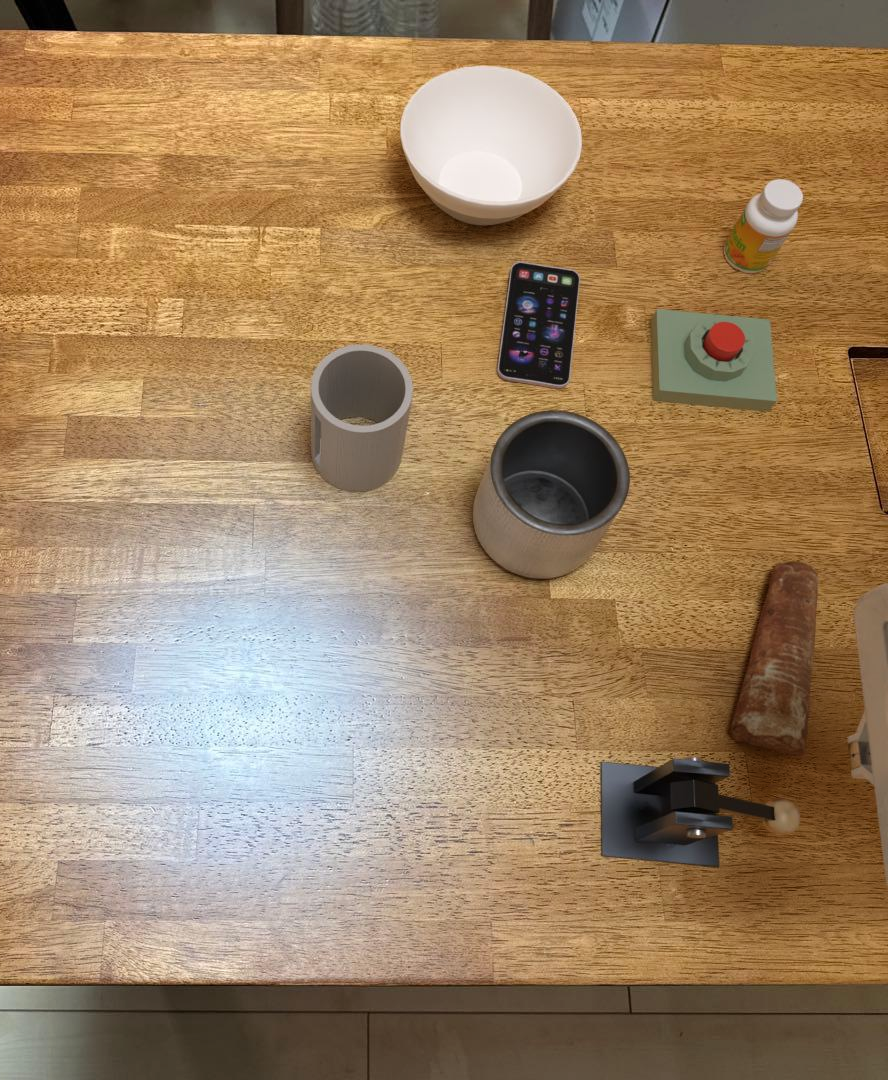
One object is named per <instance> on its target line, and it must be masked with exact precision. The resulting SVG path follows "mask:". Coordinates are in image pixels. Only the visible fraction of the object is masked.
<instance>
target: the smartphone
mask: <svg viewBox="0 0 888 1080" xmlns="http://www.w3.org/2000/svg"><path fill="white" fill-rule="evenodd" d="M580 283H581V275H580V274H579V273H578V272H577V271H576V270H575V269H571V268H565V267H559V266H558V267H557V266H553V265H546V264H538V263H532V262H526V261H517V262H515V263H513V264H512V265H511V267H510V271H509V279H508V286H507V294H506V299H505V300H506V301H505V309H504V315H503V323H502V331H501V336H500V337H501V338H500V346H499V353H498V360H497V367H496V368H497V369H496V372H497V375H498V376H499V377H500V378H501V379H502V380H504V381H507V382H512V383H513V382H514V383H520V384H521V383H522V384H528V385H532V386H533V385H534V386H541V387H546V388H551V389H563V388H566V387H567V386H568V385H569V383H570V379H571V373H572V363H573V362H572V361H573V354H574V352H573V351H574V342H575V333H576V332H575V331H576V322H577V313H578V303H579V294H580Z"/></svg>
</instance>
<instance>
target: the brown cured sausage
mask: <svg viewBox="0 0 888 1080" xmlns="http://www.w3.org/2000/svg"><path fill="white" fill-rule="evenodd" d="M818 583H819V575H818V573H817V572H816V570H815V569H814V568H813V567H812V566H811V565H809V564H807V563H805V562H802V561H797V560H795V561H794V560H793V561H792V560H791V561H786V562H781V563H777V564H776V565H774V566H773V567H772V569H771V575H770V581H769V585H768V589H767V593H766V597H765V599H764V603H763V606H762V609H761V613H760V616H759V622H758V625H757V628H756V631H755V632H756V633H755V635H754V636H755V637H754V640H753V643H752V648H751V651H750V658H749V661H748V666H747V667H746V668H747V669H746V672H745V675H744V679H743V681H742V685H741V689H740V693H739V697H738V700H737V704H736V707H735V711H734V715H733V718H732V722H731V727H730V730H729V734H730V737H731V739H733V740H734V741H735V742H737V743H748V744H749V745H750V746H754V747H755V746H756V747H760V748H761V749H762V748H764V749H767V750H770V751H773V752H776V753H781V754H784V755H787V756H792V757H801V756H804V755H805V749H806V743H807V737H808V727H809V717H810V705H811V684H812V674H813V669H814V668H813V666H814V654H815V643H816V631H817V630H816V628H817V610H818V594H819V593H818V592H819V585H818Z"/></svg>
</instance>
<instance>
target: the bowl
mask: <svg viewBox="0 0 888 1080" xmlns="http://www.w3.org/2000/svg"><path fill="white" fill-rule="evenodd" d="M402 111H403V112H402V115H401V118H400V122H399V138H400V142H401V147H402V151H403V153H404V156H405V159H406V162H407V164H408V167H409V169H410V171H411V174H412V175H413V178H414V179H415V182H416V183H417V184H418V185H419V186H420V187H421V189H422V190H423V191H424V193H425V194H426V195H427V196H428V198H429V199H430V200H431V201H432V202H433V204H434V205H435V206H437V207H438V209H440V210H441V211H443V212H444V213H446V214H447V215H449V216H450V217H451V218H454V219H455V220H457V221H459V222H463V223H465V224H469V225H473V226H485V227H486V226H494V225H499V224H504V223H507V222H511V221H514V220H516V219H518V218H521V217H522V216H524V215H525V214H528V213H529V212H531V211H533V210H535V209H537V208H539V207H540V206H542V205H543V204H544V203H545V202H547V201H548V200H550V199H551V197H552V196H553V195H555V194H556V192H558V191H559V190H560V188H561V187H562V186H563V185H564V184H565V183H566V182H567V181H568V180H569V178H570V177H571V176H572V174H574V172H575V170H576V168H577V166H578V163H579V162H580V159H581V154H582V148H583V138H582V136H583V135H582V129H581V127H580V123H579V120H578V117H577V116H576V114H575V112H574V110H573V109H572V107H571V106H570V104H569V103H568V102H567V101H566V99H565V98H564V97H563V96H562V95H561V94H560V93H559V92H558V91H556V90H555V89H554V88H553V87H551V86H550V85H548V83H546V82H544V81H542V80H540V79H539V78H536V77H534V76H533V75H530V74H528V73H524V72H522V71H519V70H517V69H513V68H507V67H502V66H498V65H497V66H495V65H492V66H491V65H473V66H464V67H459V68H456V69H452V70H447V71H445V72H444V73H441V74H439V75H437V76H434V77H432V78H431V79H430V80H428V81H427V82H426V83H424V84H422V85H421V86H420V87H419V88H418V89H417V90H416V91H415V92H414V93H413V94H412V95H411V97H410V98H409V100H408V101H407V103H406V105H405V107H404V108H403V110H402Z"/></svg>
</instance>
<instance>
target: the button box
mask: <svg viewBox="0 0 888 1080" xmlns="http://www.w3.org/2000/svg"><path fill="white" fill-rule="evenodd" d="M649 322H650V349H651V351H650V354H651V379H652V380H651V381H652V383H651V384H652V401H653V402H660V403H671V404H680V405H682V404H683V405H691V406H703V407H712V408H724V409H735V410H745V411H755V412H765V413H766V412H770V411H771V409H772V408H773V407H774V406H775V405H776V403H777V402H778V393H777V384H776V383H777V382H776V373H775V360H774V359H775V358H774V349H773V338H772V337H773V336H772V327H771V319H769V318H757V317H746V316H738V315H737V316H736V315H727V314H714V313H705V312H695V311H684V310H683V311H682V310H672V309H661V308H656V309H655V311H654V314H653V315H652V317H651V319H650V321H649ZM719 322H730V323H733V324H735V325H737V326H738V327H739V328H740V329H741V330H742V331H743V333H744V335H745V343H744V345H743V347H742V348H741V350H740V351H739V353H738V354H737V355H736V357H735V358H733V359H731V360H728V361H719V360H716V359H714V358H712V357H711V356H709V355H708V354H707V352H706V351H705V349H704V339H705V337H706V336H707V334H708V332H709V331H710V329H711V328H712V326H713V325H715V324H716V323H719Z"/></svg>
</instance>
